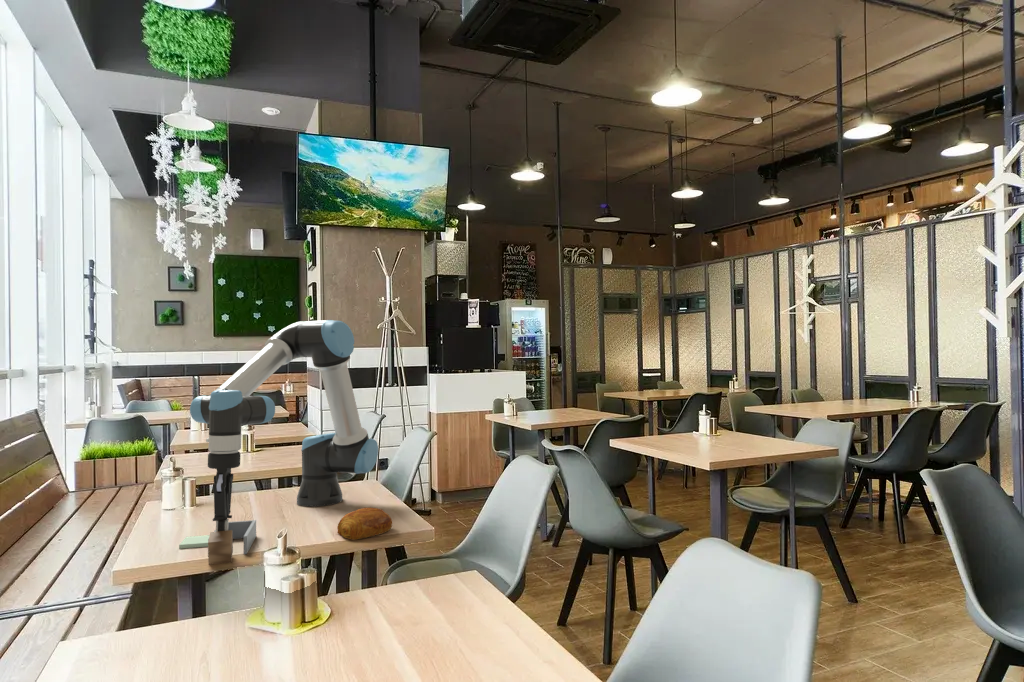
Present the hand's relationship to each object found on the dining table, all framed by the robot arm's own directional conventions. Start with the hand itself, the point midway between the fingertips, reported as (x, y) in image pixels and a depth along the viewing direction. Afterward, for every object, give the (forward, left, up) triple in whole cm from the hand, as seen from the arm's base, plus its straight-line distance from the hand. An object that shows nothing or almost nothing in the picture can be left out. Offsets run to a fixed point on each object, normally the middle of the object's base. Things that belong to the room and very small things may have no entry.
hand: (221, 545), depth 162 cm
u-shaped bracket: (-1, -10, -3) cm, 10 cm away
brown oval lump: (-35, -13, -3) cm, 38 cm away
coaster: (+8, -15, -3) cm, 17 cm away
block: (0, +3, -2) cm, 4 cm away
